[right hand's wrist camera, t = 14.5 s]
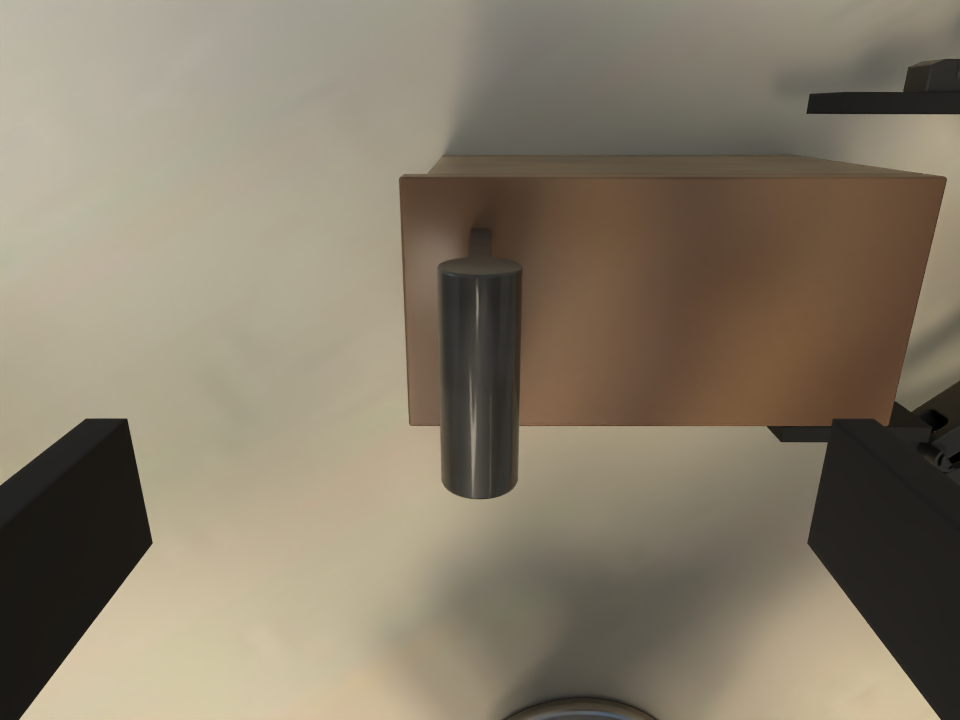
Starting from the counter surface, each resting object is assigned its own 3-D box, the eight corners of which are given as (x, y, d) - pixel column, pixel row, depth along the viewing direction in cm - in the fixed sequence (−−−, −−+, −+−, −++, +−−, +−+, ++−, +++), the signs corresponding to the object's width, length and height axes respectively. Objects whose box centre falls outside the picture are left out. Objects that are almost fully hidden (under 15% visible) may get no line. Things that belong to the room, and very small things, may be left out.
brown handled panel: (411, 414, 26) (380, 548, 18) (402, 173, 23) (359, 207, 15) (872, 414, 26) (1047, 549, 18) (927, 174, 23) (1169, 208, 15)
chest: (445, 332, 36) (433, 413, 26) (442, 155, 33) (426, 173, 23) (767, 332, 36) (872, 413, 26) (795, 155, 33) (926, 173, 23)
